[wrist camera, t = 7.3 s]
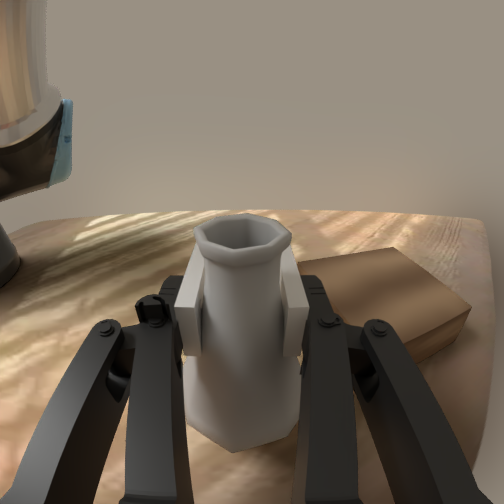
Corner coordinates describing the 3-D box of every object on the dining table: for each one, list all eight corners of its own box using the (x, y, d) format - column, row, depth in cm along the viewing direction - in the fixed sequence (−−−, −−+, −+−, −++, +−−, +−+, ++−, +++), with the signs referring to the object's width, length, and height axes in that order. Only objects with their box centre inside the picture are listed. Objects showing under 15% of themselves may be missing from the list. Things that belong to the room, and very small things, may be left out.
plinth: (293, 297, 27) (297, 262, 25) (385, 277, 30) (393, 247, 28) (358, 392, 16) (375, 355, 15) (454, 340, 19) (472, 307, 18)
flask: (158, 381, 14) (113, 223, 10) (254, 335, 18) (256, 190, 14) (228, 476, 9) (198, 339, 5) (333, 400, 13) (387, 239, 9)
